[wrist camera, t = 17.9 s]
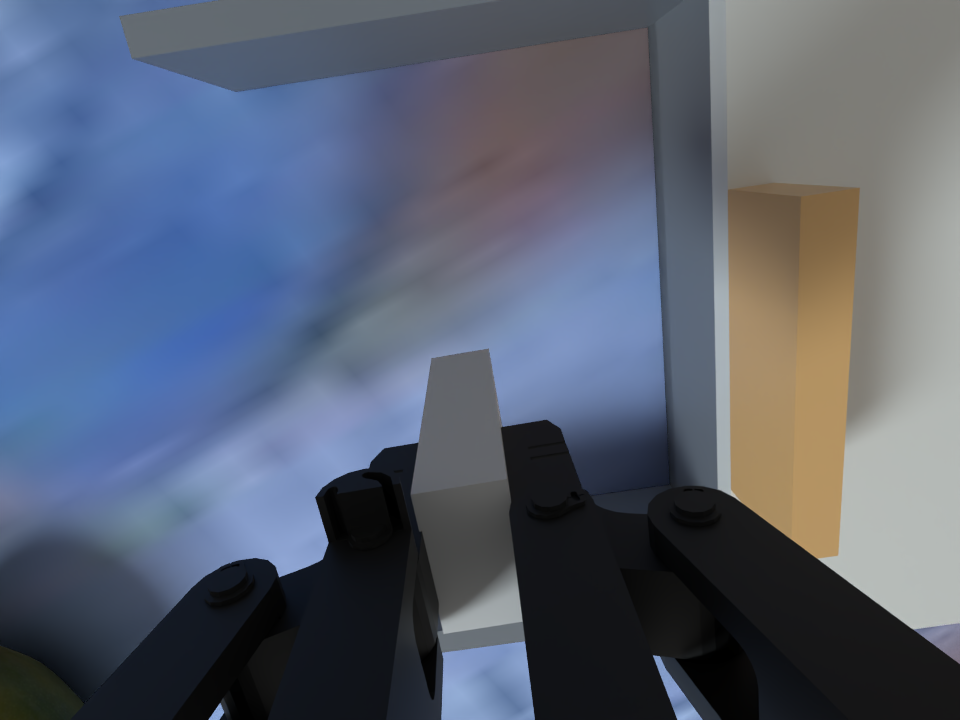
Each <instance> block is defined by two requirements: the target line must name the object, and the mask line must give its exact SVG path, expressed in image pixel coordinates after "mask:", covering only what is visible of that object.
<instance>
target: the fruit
mask: <svg viewBox="0 0 960 720" xmlns="http://www.w3.org/2000/svg"><path fill="white" fill-rule="evenodd" d="M83 705H84V703H83V702H82V701H81V699H80V698H79V697H78V696H77V695H76V694H75V693H74V692H73V691H72V690H71V689H70V688H69V687H68V686H67V685H66V684H65V683H64V682H63V681H62V680H61V679H60V678H59V677H58V676H57V675H56V674H55V673H54V672H53V671H51V670H50V669H49V668H48V667H46V666H45V665H44V664H42V663H40V662H39V661H37V660H35V659H33V658H31V657H29V656H27V655H24V654H22V653H20V652H17V651H14V650H12V649H9V648H6V647H3V646H0V720H70V719H71V718H72V717H73V716H74V715H75V714H76V713H77V712H78V711H79V710H80V708H81V707H82V706H83Z"/></svg>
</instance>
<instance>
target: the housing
mask: <svg viewBox="0 0 960 720" xmlns="http://www.w3.org/2000/svg"><path fill="white" fill-rule="evenodd" d="M119 17H120V20H121V24H122V27H123V30H124V34H125V37H126V40H127V44H128V47H129V50H130V54H131V57H132V59H135V60H138V61H141V62H144V63H147V64H150V65H153V66H157V67H160V68H163V69H166V70H169V71H172V72H175V73H178V74H182V75H185V76H188V77H191V78H194V79H197V80H200V81H203V82H206V83H210V84H213V85H216V86H219V87H222V88H225V89H228V90H231V91H234V92H238V91H245V90H251V89H258V88H264V87H270V86H277V85H283V84H289V83H296V82H302V81H309V80H315V79H321V78H328V77H334V76H340V75H347V74H353V73H360V72H366V71H372V70H379V69H385V68H391V67H398V66H404V65H411V64H417V63H423V62H430V61H436V60H443V59H449V58H455V57H462V56H468V55H474V54H481V53H487V52H494V51H500V50H506V49H513V48H519V47H525V46H532V45H538V44H545V43H551V42H557V41H564V40H570V39H576V38H583V37H589V36H596V35H602V34H608V33H615V32H621V31H627V30H634V29H640V28H647V27H648V38H649V59H650V80H651V101H652V122H653V143H654V163H655V184H656V205H657V226H658V247H659V268H660V289H661V310H662V331H663V352H664V372H665V393H666V414H667V435H668V456H669V477H670V485H664V486H657V487H650V488H643V489H636V490H629V491H622V492H615V493H608V494H600V495H593V496H591V497H592V498H593V500H594V503H595V504H596V505H598V506H600V507H602V508H604V509H607V510H611V511H615V512H622V513H634V514H647V511H648V504H649V503H650V501H651V500H652V499H653V498H654V497H655V496H656V495H657V494H659V493H661V492H664V491H666V490H668V489H671V488H676V487H682V486H705V487H709V488H713V489H717V490H718V473H717V419H716V364H715V310H714V255H713V201H712V146H711V92H710V37H709V0H218V1H212V2H205V3H199V4H193V5H187V6H180V7H174V8H168V9H162V10H155V11H149V12H143V13H137V14H130V15H124V16H119ZM437 634H438V638H439V643H440V647H441V651H442V652H450V651H457V650H464V649H472V648H479V647H486V646H493V645H501V644H508V643H515V642H523V641H525V636H524V628H523V622H517V623H511V624H504V625H498V626H492V627H485V628H479V629H472V630H466V631H460V632H453V633H447V634H443V629H442V625H441V621H440V617H439V613H438V632H437Z"/></svg>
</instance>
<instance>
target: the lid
mask: <svg viewBox="0 0 960 720" xmlns="http://www.w3.org/2000/svg"><path fill="white" fill-rule="evenodd" d="M709 37H710V92H711V146H712V201H713V255H714V310H715V364H716V419H717V473H718V490H721V491H723V492H725V493H727V494H729V495H731V496H733V497H735V498H736V499H737V500H739V501H740V502H741V503H743V504H744V505H745V506H747V507H748V508H750V509H751V510H752V511H754V512H755V513H756V514H758V515H759V516H760V517H762V518H763V519H764V520H766V521H767V522H768V523H770V524H771V525H772V526H774V527H775V528H777V529H778V530H779V531H781V532H782V533H783V534H785V535H786V536H787V537H789V538H790V539H791V540H793V541H794V542H795V543H797V544H798V545H799V546H801V547H802V548H804V549H805V550H806V551H808V552H809V553H810V554H812V555H813V556H814V557H816V558H817V559H818V560H820V561H821V562H822V563H824V564H825V565H826V566H828V567H829V568H831V569H832V570H833V571H835V572H836V573H837V574H839V575H840V576H841V577H843V578H844V579H845V580H847V581H848V582H849V583H851V584H852V585H853V586H855V587H856V588H858V589H859V590H860V591H862V592H863V593H864V594H866V595H867V596H868V597H870V598H871V599H872V600H874V601H875V602H876V603H878V604H879V605H880V606H882V607H883V608H885V609H886V610H887V611H889V612H890V613H891V614H893V615H894V616H895V617H897V618H898V619H899V620H901V621H902V622H903V623H905V624H906V625H907V626H909V627H910V628H912V629H919V628H926V627H934V626H941V625H948V624H956V623H960V0H709Z"/></svg>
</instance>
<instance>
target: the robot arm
mask: <svg viewBox="0 0 960 720" xmlns="http://www.w3.org/2000/svg"><path fill="white" fill-rule="evenodd" d="M315 498H316V502H317V505H318V508H319V512H320V515H321V518H322V522H323V525H324V528H325V532H326V535H327V538H328V542H329V543H328V546H327V549H326V552H325V555H324V558H323V560H321V561H319V562H317V563H315V564H313V565H311V566H308V567H306V568H303V569H301V570H298V571H295V572H293V573H290V574H287V575H285V576H282V577H279V576H278V573H277V570H276V567H275V566H274V565H273V564H272V563H271V562H269V561H268V560H264V559H258V558H253V559H246V560H239V561H235V562H232V563H231V564H230V563H229V564H226V565H224V566H221V567H220V568H219V569H217V570H215V571H214V572H212V573H210V574H208V575H207V576H205V577H204V578H203V579H202V580H201V581H199V582H198V583H197V584H196V585H195V586H194V587H192V588H191V589H190V591H189V592H188V593H187V594H186V595H185V596H184V597H183V598H182V599H181V600H180V601H179V602H178V604H177V605H176V606H175V607H174V608H173V609H172V610H171V611H170V612H169V613H168V614H167V615H166V617H165V618H164V619H163V620H162V621H161V622H160V623H159V624H158V625H157V626H156V627H155V628H154V630H153V631H152V632H151V633H150V634H149V635H148V636H147V637H146V638H145V639H144V640H143V641H142V642H141V644H140V645H139V646H138V647H137V648H136V649H135V650H134V651H133V652H132V653H131V654H130V655H129V657H128V658H127V659H126V660H125V661H124V662H123V663H122V664H121V665H120V666H119V667H118V668H117V670H116V671H115V672H114V673H113V674H112V675H111V676H110V677H109V678H108V679H107V680H106V681H105V683H104V684H103V685H102V686H101V687H100V688H99V689H98V690H97V691H96V692H95V693H94V694H93V696H92V697H91V698H90V699H89V700H88V701H87V702H86V703H85V704H84V705H83V706H82V707H81V708H80V710H79V711H78V712H77V713H76V714H75V715H74V716H73V717H72V718H71V719H70V720H208V719H209V718H210V717H211V715H212V714H213V712H214V711H215V709H216V708H217V706H218V705H219V703H221V705H222V708H223V710H224V714H223V715H222V717H221V718H220V720H441V710H442V682H443V656H442V651H441V647H440V643H439V638H438V634H437V632H438V613H439V617H440V621H441V625H442V629H443V634H447V633H453V632H460V631H466V630H472V629H479V628H485V627H492V626H498V625H504V624H511V623H517V622H523V628H524V636H525V644H526V652H527V660H528V668H529V676H530V683H531V691H532V699H533V707H534V715H535V720H677V718H676V715H675V713H674V710H673V707H672V705H671V702H670V699H669V697H668V694H667V692H666V689H665V686H664V684H663V681H662V678H661V676H660V673H659V671H658V668H657V665H656V663H655V660H654V657H653V655H655V656H660V657H661V659H662V661H663V664H664V666H665V668H666V670H667V671H668V672H669V674H670V675H671V677H672V678H673V679H674V681H675V682H676V683H677V685H678V686H679V688H680V689H681V690H682V692H683V693H684V694H685V696H686V697H687V699H688V700H689V701H690V703H691V704H692V705H693V707H694V708H695V710H696V711H697V712H698V714H699V715H700V716H701V718H702V719H703V720H960V664H959V663H957V662H956V661H955V660H953V659H952V658H951V657H949V656H948V655H947V654H945V653H944V652H943V651H941V650H940V649H939V648H937V647H936V646H934V645H933V644H932V643H930V642H929V641H928V640H926V639H925V638H924V637H922V636H921V635H920V634H918V633H917V632H916V631H914V630H913V629H912V628H910V627H909V626H907V625H906V624H905V623H903V622H902V621H901V620H899V619H898V618H897V617H895V616H894V615H893V614H891V613H890V612H889V611H887V610H886V609H885V608H883V607H882V606H880V605H879V604H878V603H876V602H875V601H874V600H872V599H871V598H870V597H868V596H867V595H866V594H864V593H863V592H862V591H860V590H859V589H858V588H856V587H855V586H853V585H852V584H851V583H849V582H848V581H847V580H845V579H844V578H843V577H841V576H840V575H839V574H837V573H836V572H835V571H833V570H832V569H831V568H829V567H828V566H826V565H825V564H824V563H822V562H821V561H820V560H818V559H817V558H816V557H814V556H813V555H812V554H810V553H809V552H808V551H806V550H805V549H804V548H802V547H801V546H799V545H798V544H797V543H795V542H794V541H793V540H791V539H790V538H789V537H787V536H786V535H785V534H783V533H782V532H781V531H779V530H778V529H777V528H775V527H774V526H772V525H771V524H770V523H768V522H767V521H766V520H764V519H763V518H762V517H760V516H759V515H758V514H756V513H755V512H754V511H752V510H751V509H750V508H748V507H747V506H745V505H744V504H743V503H741V502H740V501H739V500H737V499H736V498H735V497H733V496H731V495H729V494H727V493H725V492H723V491H721V490H717V489H713V488H709V487H705V486H682V487H676V488H671V489H668V490H666V491H664V492H661V493H659V494H657V495H656V496H655V497H654V498H653V499H652V500H651V501H650V503H649V504H648V511H647V514H634V513H622V512H615V511H611V510H607V509H604V508H602V507H600V506H598V505H596V504H595V503H594V500H593V498H592V497H591V496H590V495H589V493H588V492H587V491H586V490H584V489H582V487H581V484H580V481H579V478H578V476H577V473H576V470H575V467H574V465H573V462H572V459H571V456H570V454H569V451H568V448H567V446H566V443H565V440H564V437H563V435H562V432H561V429H560V428H558V427H557V426H555V425H554V424H552V423H551V422H549V421H548V420H542V421H536V422H530V423H524V424H518V425H512V426H506V427H502V423H501V417H500V411H499V406H498V400H497V394H496V388H495V382H494V377H493V371H492V365H491V359H490V353H489V349H484V350H478V351H472V352H466V353H461V354H455V355H449V356H443V357H437V358H432V360H431V366H430V372H429V379H428V385H427V392H426V398H425V405H424V411H423V417H422V424H421V430H420V437H419V443H414V444H408V445H402V446H396V447H390V448H384V449H383V450H382V451H381V452H380V453H379V454H378V455H377V456H376V457H375V458H374V459H373V460H372V461H371V464H370V467H369V469H362V470H358V471H354V472H350V473H347V474H345V475H343V476H341V477H339V478H336V479H334V480H333V481H331V482H330V483H329V484H327V485H326V486H324V487H323V488H322V489H321V490H320V492H319V493H318V494H317V496H316V497H315Z"/></svg>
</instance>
